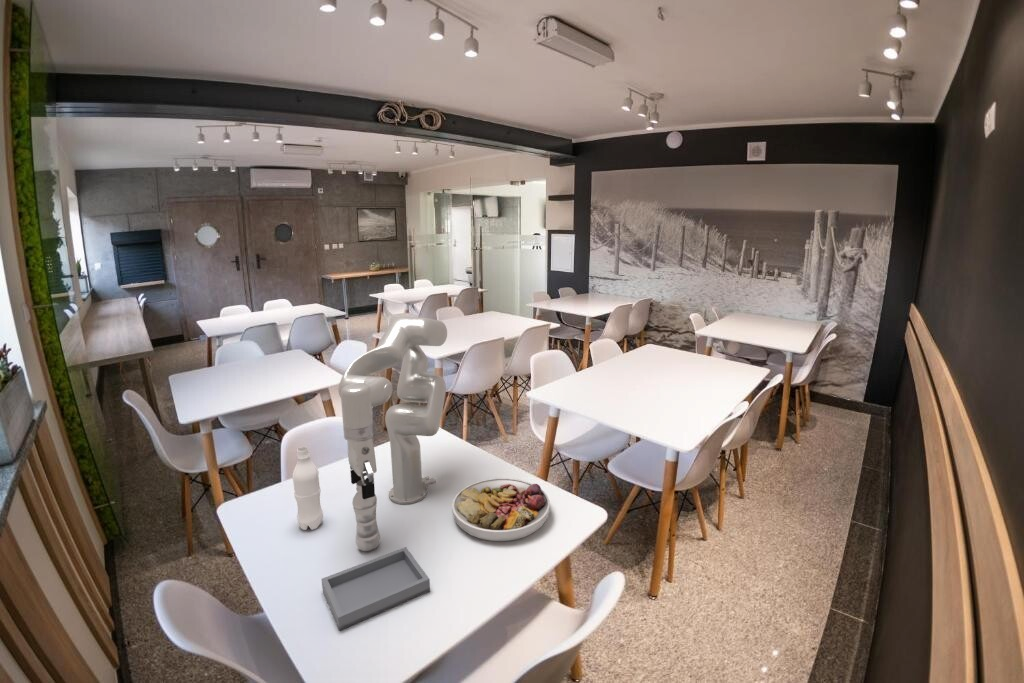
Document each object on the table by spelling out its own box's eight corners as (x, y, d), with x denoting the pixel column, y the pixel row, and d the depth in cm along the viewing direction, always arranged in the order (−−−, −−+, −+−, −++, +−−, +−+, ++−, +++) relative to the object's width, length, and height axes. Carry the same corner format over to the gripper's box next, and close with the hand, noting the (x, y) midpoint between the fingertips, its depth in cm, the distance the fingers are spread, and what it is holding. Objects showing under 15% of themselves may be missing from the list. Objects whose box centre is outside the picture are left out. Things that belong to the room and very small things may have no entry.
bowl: (477, 560, 135) (477, 534, 133) (438, 506, 160) (437, 484, 159) (569, 527, 149) (569, 503, 147) (519, 483, 174) (519, 462, 173)
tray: (406, 558, 135) (406, 546, 134) (430, 591, 123) (429, 578, 122) (322, 591, 123) (321, 578, 123) (339, 631, 111) (338, 617, 110)
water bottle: (315, 533, 146) (306, 455, 140) (293, 531, 147) (283, 453, 142) (328, 519, 153) (320, 444, 147) (307, 517, 154) (299, 442, 148)
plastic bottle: (385, 542, 142) (380, 478, 137) (371, 557, 136) (366, 490, 131) (366, 537, 144) (360, 474, 139) (351, 552, 138) (345, 486, 133)
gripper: (383, 438, 127) (387, 499, 130) (362, 417, 141) (366, 473, 144) (354, 445, 122) (358, 508, 126) (335, 423, 137) (340, 480, 140)
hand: (362, 489), depth 135 cm, fingers open, 9 cm apart
